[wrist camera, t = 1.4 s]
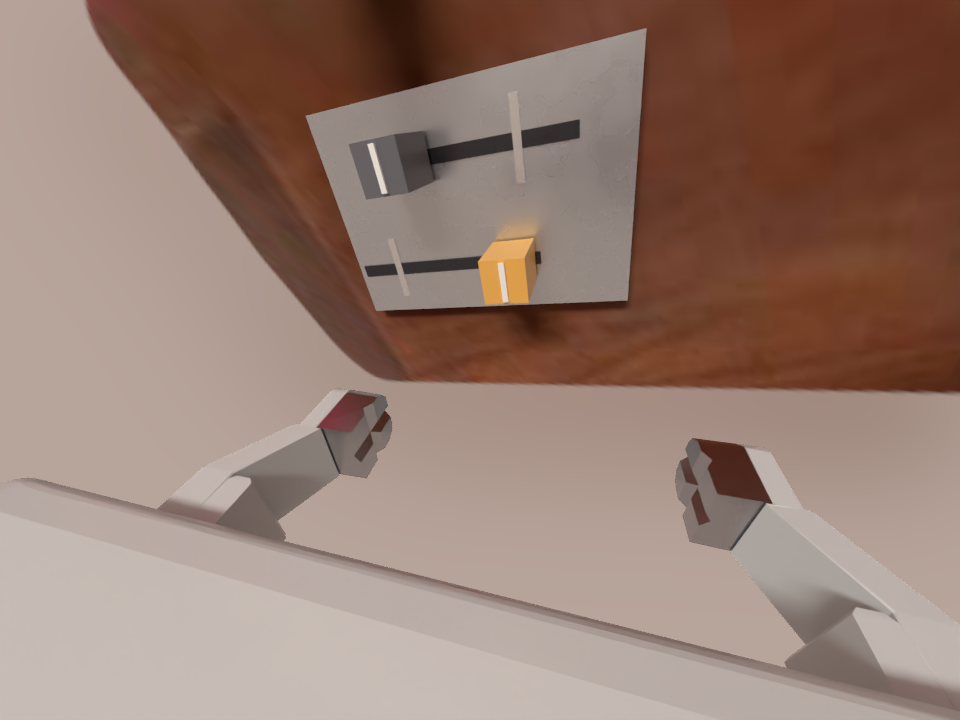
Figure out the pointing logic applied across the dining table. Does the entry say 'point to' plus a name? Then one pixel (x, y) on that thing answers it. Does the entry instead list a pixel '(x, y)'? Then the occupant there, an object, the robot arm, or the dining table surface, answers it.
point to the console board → (500, 177)
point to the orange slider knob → (508, 271)
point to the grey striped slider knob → (392, 164)
